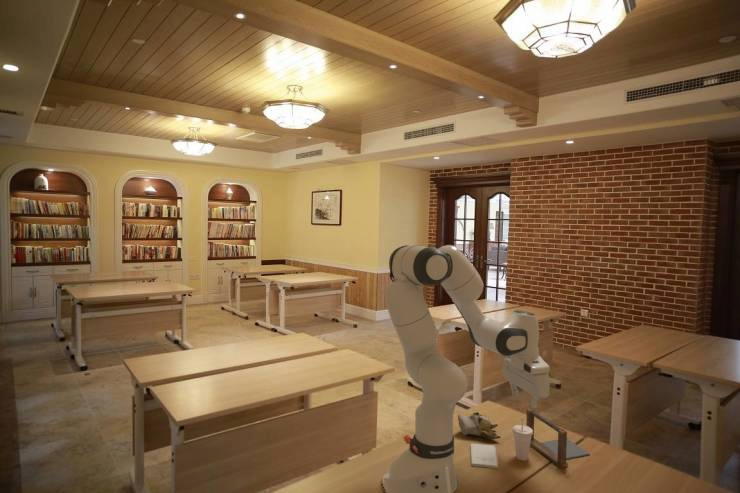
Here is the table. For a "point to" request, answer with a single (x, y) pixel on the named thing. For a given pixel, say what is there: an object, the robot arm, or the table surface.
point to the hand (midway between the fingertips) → (524, 401)
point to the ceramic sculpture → (477, 426)
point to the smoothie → (522, 440)
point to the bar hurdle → (556, 459)
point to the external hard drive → (483, 456)
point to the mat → (571, 450)
